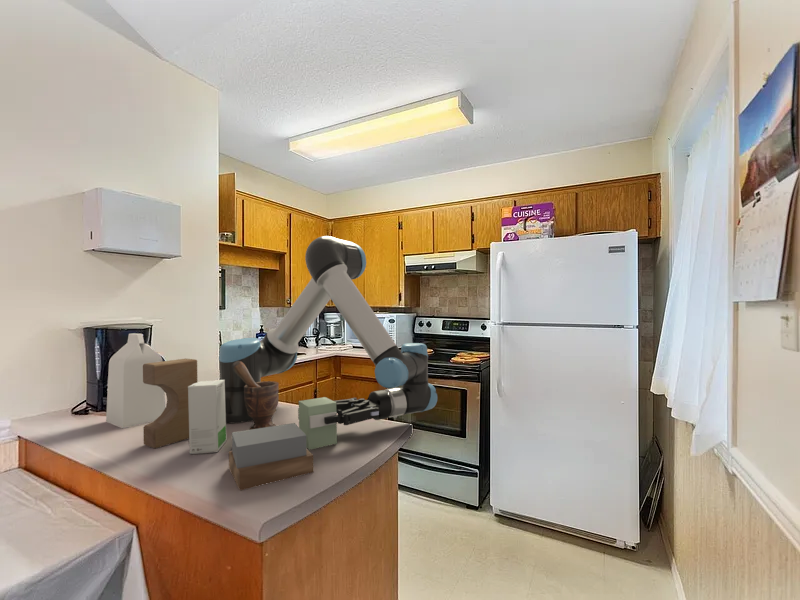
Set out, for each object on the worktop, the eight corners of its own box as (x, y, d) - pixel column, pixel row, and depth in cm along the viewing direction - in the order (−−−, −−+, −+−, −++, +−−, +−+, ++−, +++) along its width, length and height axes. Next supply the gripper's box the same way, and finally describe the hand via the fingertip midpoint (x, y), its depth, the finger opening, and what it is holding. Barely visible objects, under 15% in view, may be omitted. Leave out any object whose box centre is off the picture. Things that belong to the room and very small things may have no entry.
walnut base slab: (229, 470, 83) (228, 451, 83) (295, 456, 90) (295, 438, 90) (239, 493, 72) (239, 471, 73) (313, 474, 80) (313, 455, 80)
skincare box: (217, 453, 91) (216, 385, 92) (186, 455, 90) (185, 386, 90) (227, 440, 100) (226, 378, 100) (199, 442, 99) (198, 379, 99)
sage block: (299, 441, 98) (298, 401, 98) (325, 436, 102) (325, 397, 102) (309, 449, 92) (308, 406, 92) (336, 443, 96) (336, 402, 96)
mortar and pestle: (255, 445, 96) (254, 362, 96) (227, 441, 99) (226, 361, 100) (285, 430, 107) (284, 356, 107) (260, 427, 110) (259, 355, 110)
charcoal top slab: (232, 451, 83) (231, 432, 83) (295, 440, 89) (294, 422, 89) (237, 468, 74) (236, 447, 74) (306, 455, 80) (306, 435, 80)
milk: (106, 421, 118) (105, 334, 119) (148, 412, 128) (147, 332, 128) (123, 428, 112) (122, 335, 112) (166, 418, 121) (165, 333, 121)
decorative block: (153, 449, 94) (152, 365, 94) (142, 445, 98) (141, 363, 98) (199, 436, 103) (198, 359, 104) (188, 432, 107) (187, 358, 107)
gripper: (406, 427, 99) (319, 446, 87) (368, 409, 116) (291, 423, 104) (406, 397, 99) (319, 411, 87) (368, 383, 116) (290, 394, 104)
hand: (304, 418), depth 95 cm, fingers open, 8 cm apart
